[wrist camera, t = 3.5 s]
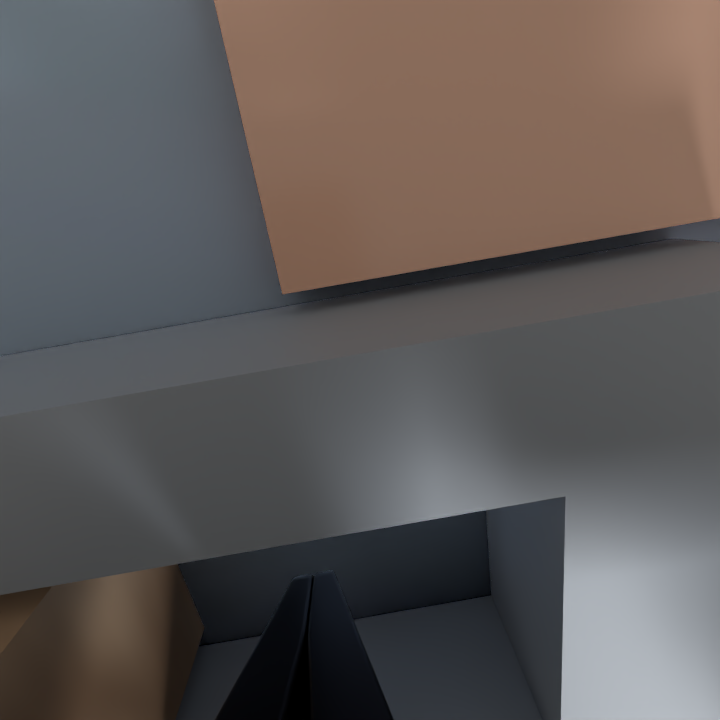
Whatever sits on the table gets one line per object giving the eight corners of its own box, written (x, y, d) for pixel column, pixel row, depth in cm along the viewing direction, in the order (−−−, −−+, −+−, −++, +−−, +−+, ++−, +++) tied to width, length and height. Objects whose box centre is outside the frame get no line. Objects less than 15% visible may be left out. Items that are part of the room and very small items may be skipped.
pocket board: (630, 633, 12) (746, 798, 8) (23, 739, 12) (-100, 945, 8) (672, 238, 8) (920, 255, 4) (-238, 397, 8) (-657, 531, 4)
